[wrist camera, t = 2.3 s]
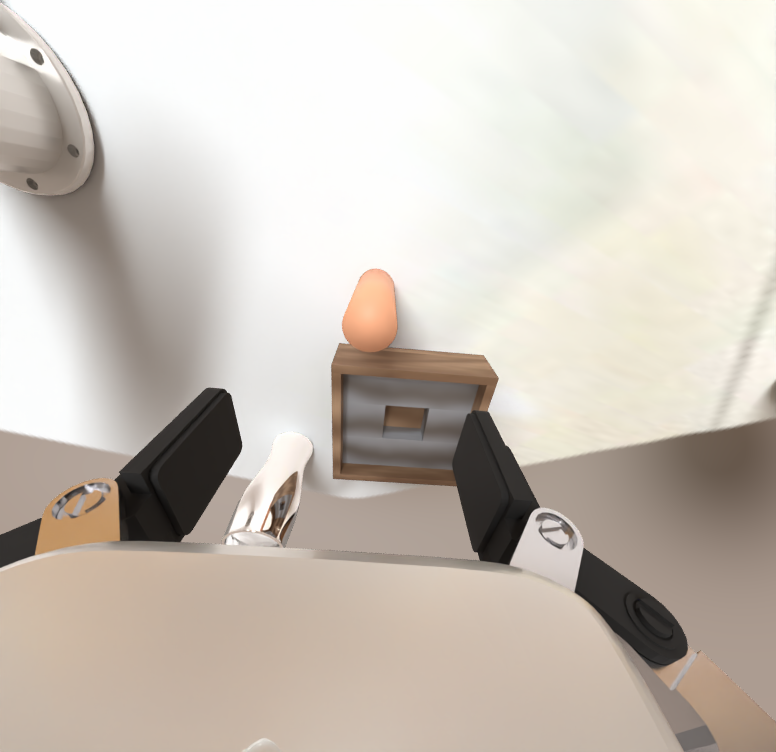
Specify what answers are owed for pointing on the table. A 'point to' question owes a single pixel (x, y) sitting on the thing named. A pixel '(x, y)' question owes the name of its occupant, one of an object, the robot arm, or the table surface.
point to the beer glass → (272, 496)
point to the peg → (371, 313)
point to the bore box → (403, 412)
